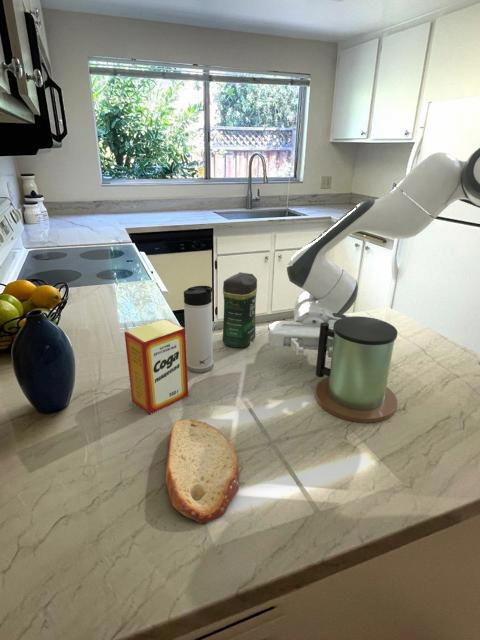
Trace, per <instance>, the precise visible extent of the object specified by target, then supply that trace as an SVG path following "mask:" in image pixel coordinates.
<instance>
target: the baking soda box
mask: <svg viewBox="0 0 480 640" xmlns="http://www.w3.org/2000/svg"><path fill="white" fill-rule="evenodd" d="M123 332H124V341H125V349H126V359H127V368H128V377H129V387H130V396H131V402H133V403H134V402H135V403H136V404H135V403H134V404H135V405H137V406H138V405H139V406H140V407H139V406H138V407H139V408H140V409H142V410H143V409H144V410H145V411H144V410H143V411H144V412H145V413H147V414H148V413H149V414H148V415H152V414H154V413H156V412H158V411H160V410H162V408H163V409H164V407H165V408H166V406H167V407H168V406H171V405H173V404H174V403H177V402H179V401H181V400H183V399H185V398H187V397H189V383H188V368H187V355H186V335H185V326H181V325H179V324H177V323H175V322H173V321H172V320H170V319H167V318H164V319H159V320H157V321H154V322H151V323H148V324H147V323H145V324H141V325H140V326H137V327H134V328H132V329H129V330H126V331H123ZM159 409H160V410H159ZM157 410H158V411H157ZM155 411H156V412H155ZM153 412H154V413H153ZM151 413H152V414H151Z"/></svg>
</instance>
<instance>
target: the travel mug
mask: <svg viewBox="0 0 480 640" xmlns="http://www.w3.org/2000/svg"><path fill="white" fill-rule="evenodd" d="M213 291H214V287H212V286H210V285H196V286H191V287H187V289H185V290H184V291H183V311H184V312H183V313H184V314H183V315H184V328H185V338H186V358H187V370H188V371H190V372H193V373H195V374H196V373H197V374H200V373H201V374H203V373H207V372H209V371H211V370H212V369H213V367H214V337H213V336H214V333H213V332H214V331H213V329H214V327H213V297H212V293H213Z"/></svg>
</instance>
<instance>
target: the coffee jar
mask: <svg viewBox="0 0 480 640" xmlns="http://www.w3.org/2000/svg"><path fill="white" fill-rule="evenodd" d="M257 292H258V278H257V277H256V276H255V275H254V274H253V273H248V272H240V271H239V272H238V273H236V274H234V275H231V276H229V277H228V278H226V279H225V280H223V286H222V294H223V325H222V343H223V344H224V345H227V346H228V347H231V348H235V349H236V348H246V347H248V346H249V345H251V342H254V340H255V339H256V307H257V306H256V304H257Z"/></svg>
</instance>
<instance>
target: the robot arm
mask: <svg viewBox="0 0 480 640" xmlns="http://www.w3.org/2000/svg"><path fill="white" fill-rule="evenodd" d="M457 201H459V202H463V203H466V204H468V205H472V206H473V207H476V208H478V209H479V208H480V147H479V148H477V149H476V150H475V151H474V152H473V153H472V154H471V155H470V156H469V157H468V159H467V160H465V161H463V160H461V159H458V158H457V157H456V156H454V155H452V154H450V153H447V152H435V153H432V154H431V155H429V156H427V157H426V158H424V159H423V160H422V161H421V162H420V163H418V165H416V166H414V168H413V169H412V170H410V171H409V172H408V173H407V174H406V175H405V176H404V177H403V178H402V179H401V180H400V181H399V182H398V183H397V185H396V186H394V188H393V189H392V190H391V191H389V192H388V193H386V194H384V195H383V196H381V197H379V198H376V199H372V198H367V199H365V200H362V201H361V202H359V203H358V204H356V205H355V206H354V207H352V208H351V209H350V210H348V211H347V212H346V213H344V214H343V215H342V216H341V217H339V218H338V219H337V220H336V221H335V222H333V223H332V224H331V225H330V226H329V227H327V229H325V230H324V231H323V232H322V233H320V234H319V235H318V236H317V237H316V238H314V239H313V240H312V241H310V242H309V243H308V244H306V245H305V246H304V247H301V249H299V250H298V251H296V252H295V253H294V254H293V255H292V256H291V258H290V259H289V260H288V262H287V264H286V273H287V274H286V275H287V277H288V279H289V282H290V283H292V284H294V285H295V286H297V287H298V288H300V289H302V290H303V292H301V293H299V295H298V296H297V298H296V300H295V302H294V306H293V321H286V320H275V321H274V322H273V323H270V324H269V325H268V326H267V327H268V328H267V329H268V337H267V339H268V340H267V343H268V346H270V347H272V348H282V349H291V350H292V351H293V352H295V356H304V350H310V351H318V344H319V333H320V324H321V323H323V322H325V323H329V328H330V329H333V326H334V323H335V322H336V321H337V320H338V319H341V318H345V317H351V316H350V315H347V314H345V313H347V312H348V311H349V310H350V309H351V307H352V306H353V305H354V304H355V302H356V301H357V298H358V293H359V292H358V291H359V283H358V280H357V279H356V278H354V276H352V274H350V273H348V271H346V270H345V269H344V268H341V266H339V265H338V264H337V263H335V262H334V261H333V260H331V259H330V258H329V257H328V256H327V254H328V253H329V252H330V251H331V250H333V249H334V248H335V247H337V246H338V245H339V244H341V243H342V242H343V241H344V240H345V239H347V238H348V237H350V235H352V234H354V233H358V232H368V233H373V234H376V235H380V236H383V237H386V238H390V239H396V240H405V239H410V238H413V237H416V236H417V235H419V234H420V233H421V232H423V231H424V230H425V229H427V227H428V226H429V225H430V224H432V223H433V222H434V220H435V219H436V218H438V217H439V215H440V214H441V213H442V212H444V210H445V209H446V208H447V207H450V205H451V204H452V203H454V202H457ZM333 341H334V338H332V337H329V336H328V342H327V352H326V356H327V358H332V350H333Z"/></svg>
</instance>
